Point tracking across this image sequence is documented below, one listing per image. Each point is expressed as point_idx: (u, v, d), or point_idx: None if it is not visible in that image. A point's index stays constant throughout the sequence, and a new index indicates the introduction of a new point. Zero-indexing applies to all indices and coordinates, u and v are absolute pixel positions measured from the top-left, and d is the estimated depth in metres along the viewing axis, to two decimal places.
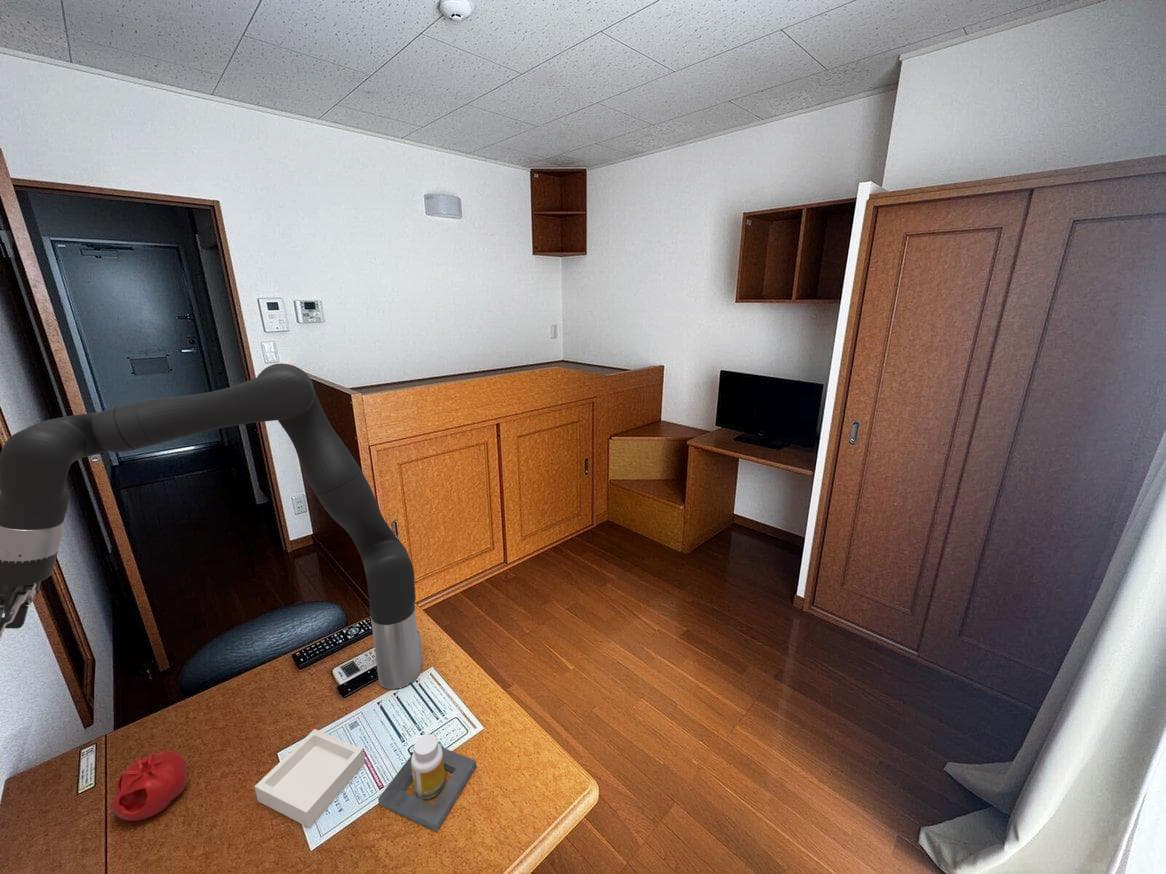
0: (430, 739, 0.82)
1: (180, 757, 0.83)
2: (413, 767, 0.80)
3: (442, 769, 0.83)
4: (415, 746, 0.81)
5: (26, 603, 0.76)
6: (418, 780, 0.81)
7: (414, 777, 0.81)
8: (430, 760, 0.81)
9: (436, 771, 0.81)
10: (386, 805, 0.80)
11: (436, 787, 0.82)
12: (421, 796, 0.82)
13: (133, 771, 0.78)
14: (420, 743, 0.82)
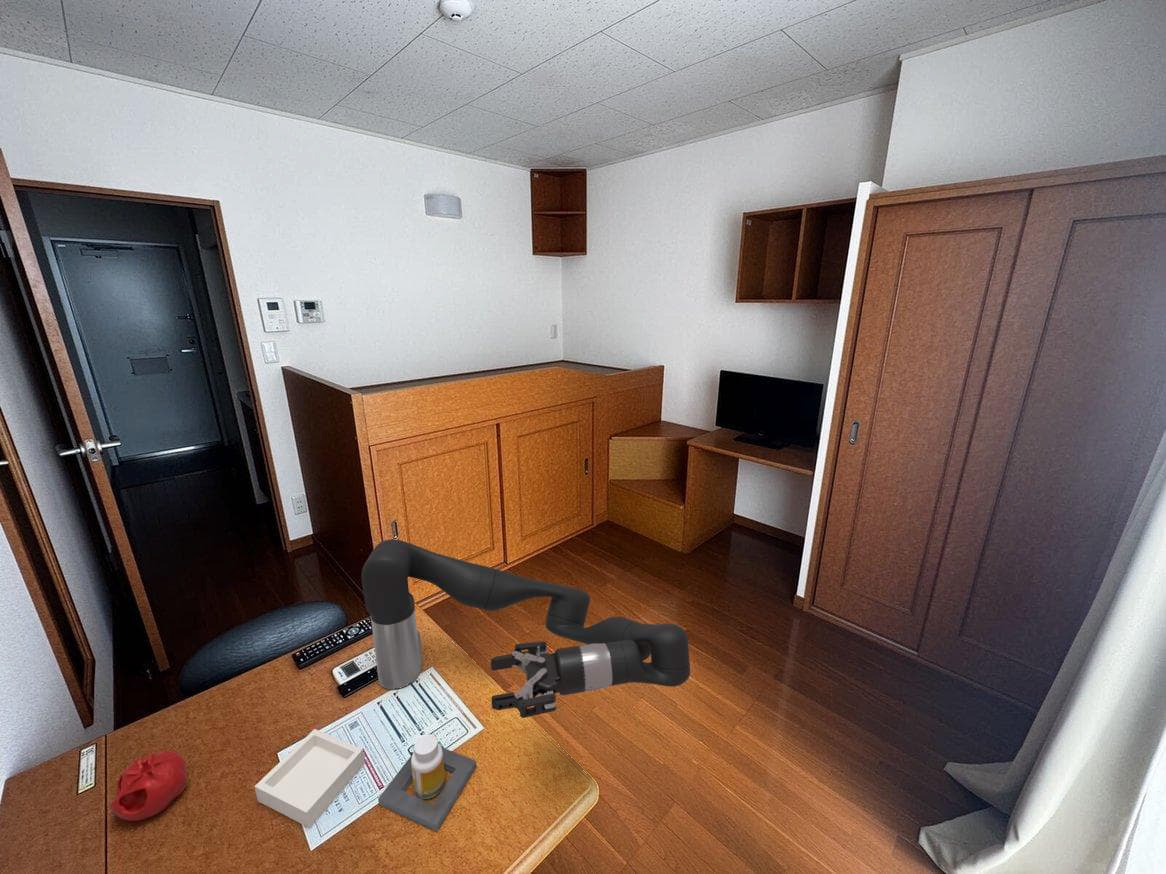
0: (430, 739, 0.82)
1: (180, 757, 0.83)
2: (413, 767, 0.80)
3: (442, 769, 0.83)
4: (415, 746, 0.81)
5: (516, 666, 0.85)
6: (418, 780, 0.81)
7: (414, 777, 0.81)
8: (430, 760, 0.81)
9: (436, 771, 0.81)
10: (386, 805, 0.80)
11: (436, 787, 0.82)
12: (421, 796, 0.82)
13: (133, 771, 0.78)
14: (420, 743, 0.82)
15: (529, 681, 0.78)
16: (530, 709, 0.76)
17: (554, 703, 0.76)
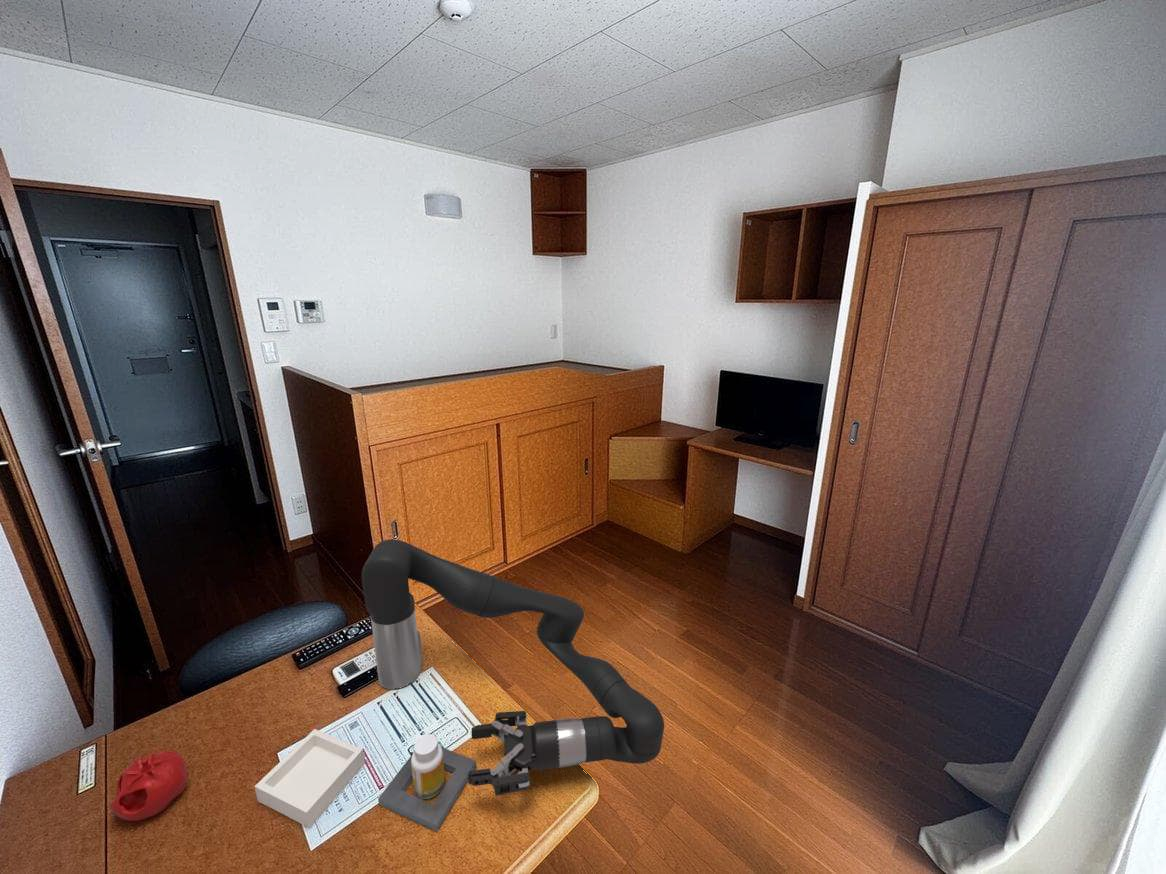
0: (430, 739, 0.82)
1: (180, 757, 0.83)
2: (413, 767, 0.80)
3: (442, 769, 0.83)
4: (415, 746, 0.81)
5: (495, 735, 0.88)
6: (418, 780, 0.81)
7: (414, 777, 0.81)
8: (430, 760, 0.81)
9: (436, 771, 0.81)
10: (386, 805, 0.80)
11: (436, 787, 0.82)
12: (421, 796, 0.82)
13: (133, 771, 0.78)
14: (420, 743, 0.82)
15: (505, 757, 0.82)
16: (504, 786, 0.79)
17: (527, 782, 0.79)
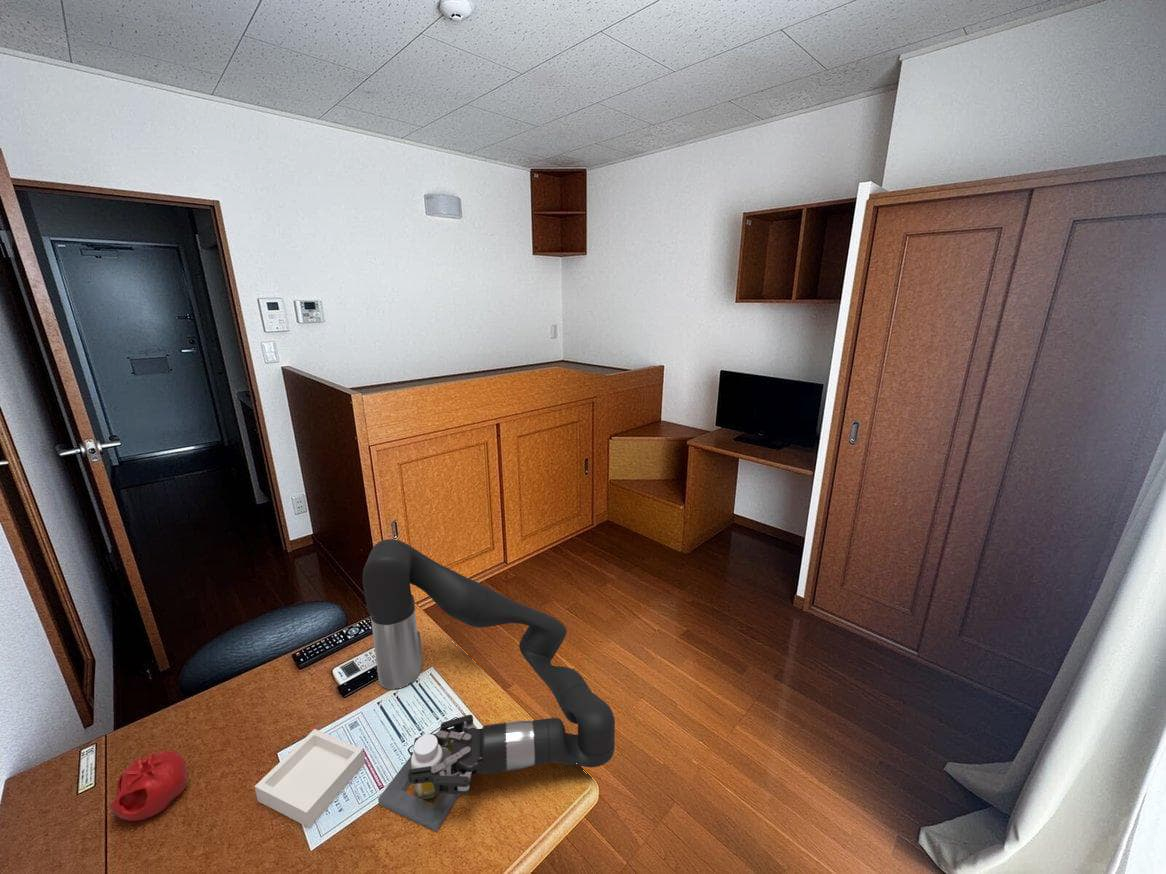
0: (430, 739, 0.82)
1: (180, 757, 0.83)
2: (413, 767, 0.80)
3: None
4: (415, 746, 0.81)
5: None
6: None
7: None
8: (430, 760, 0.81)
9: None
10: (386, 805, 0.80)
11: None
12: (421, 796, 0.82)
13: (133, 771, 0.78)
14: (419, 743, 0.82)
15: (449, 757, 0.81)
16: (445, 786, 0.78)
17: (466, 787, 0.77)
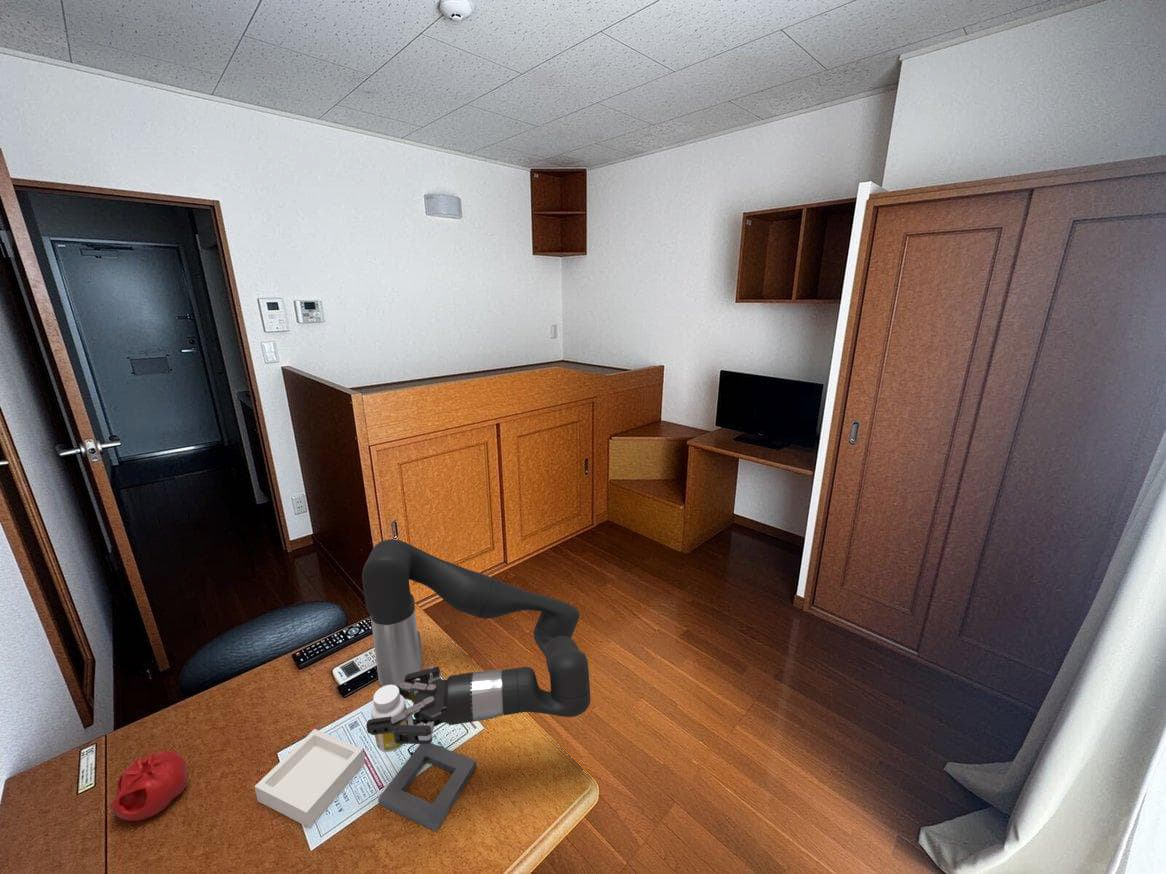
0: (391, 690, 0.77)
1: (180, 757, 0.83)
2: (373, 718, 0.76)
3: None
4: (375, 696, 0.76)
5: None
6: None
7: None
8: (391, 710, 0.76)
9: None
10: (386, 805, 0.80)
11: None
12: (383, 749, 0.77)
13: (133, 771, 0.78)
14: (380, 693, 0.77)
15: (411, 707, 0.76)
16: (406, 736, 0.74)
17: (427, 736, 0.72)
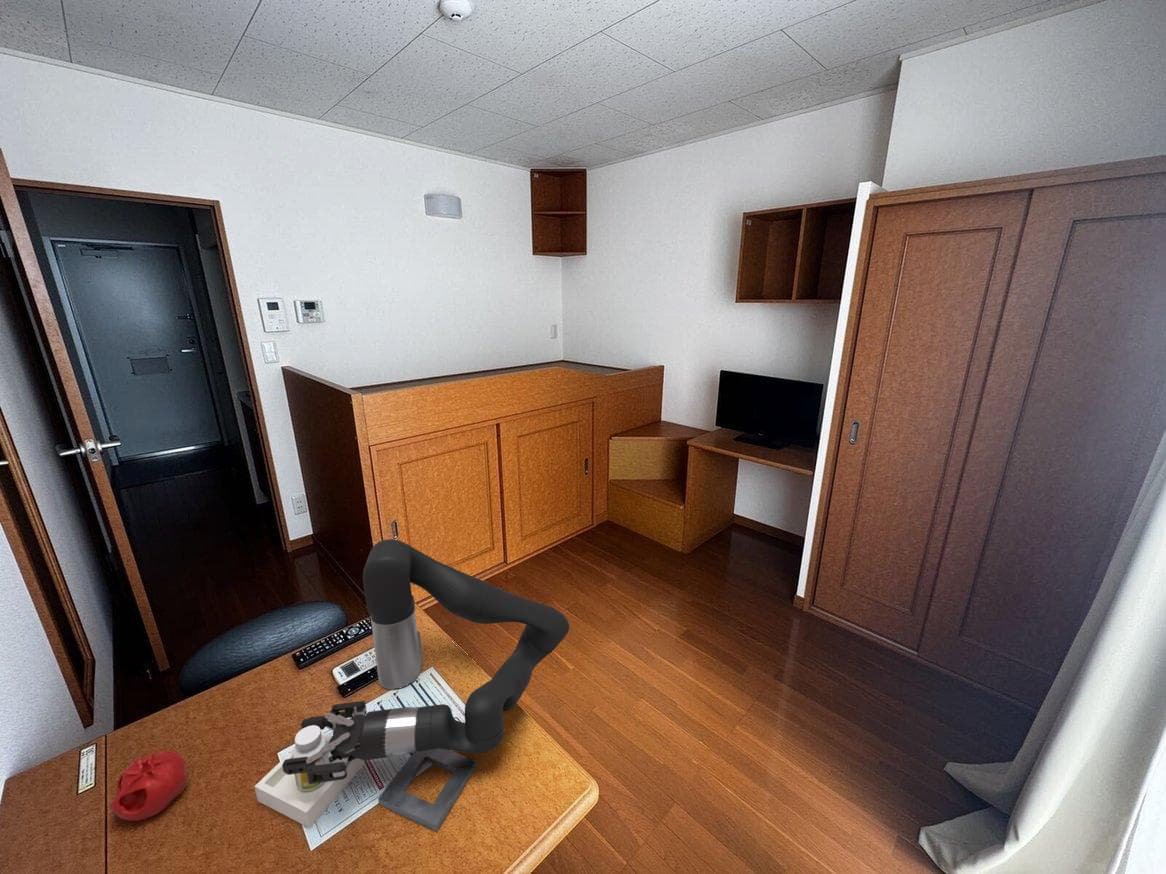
0: (313, 730, 0.82)
1: (180, 757, 0.83)
2: (293, 757, 0.80)
3: None
4: (296, 736, 0.81)
5: (328, 728, 0.86)
6: None
7: None
8: (310, 751, 0.81)
9: None
10: (386, 805, 0.80)
11: None
12: (301, 788, 0.81)
13: (133, 771, 0.78)
14: (302, 733, 0.82)
15: (326, 746, 0.80)
16: (320, 775, 0.77)
17: (342, 772, 0.77)
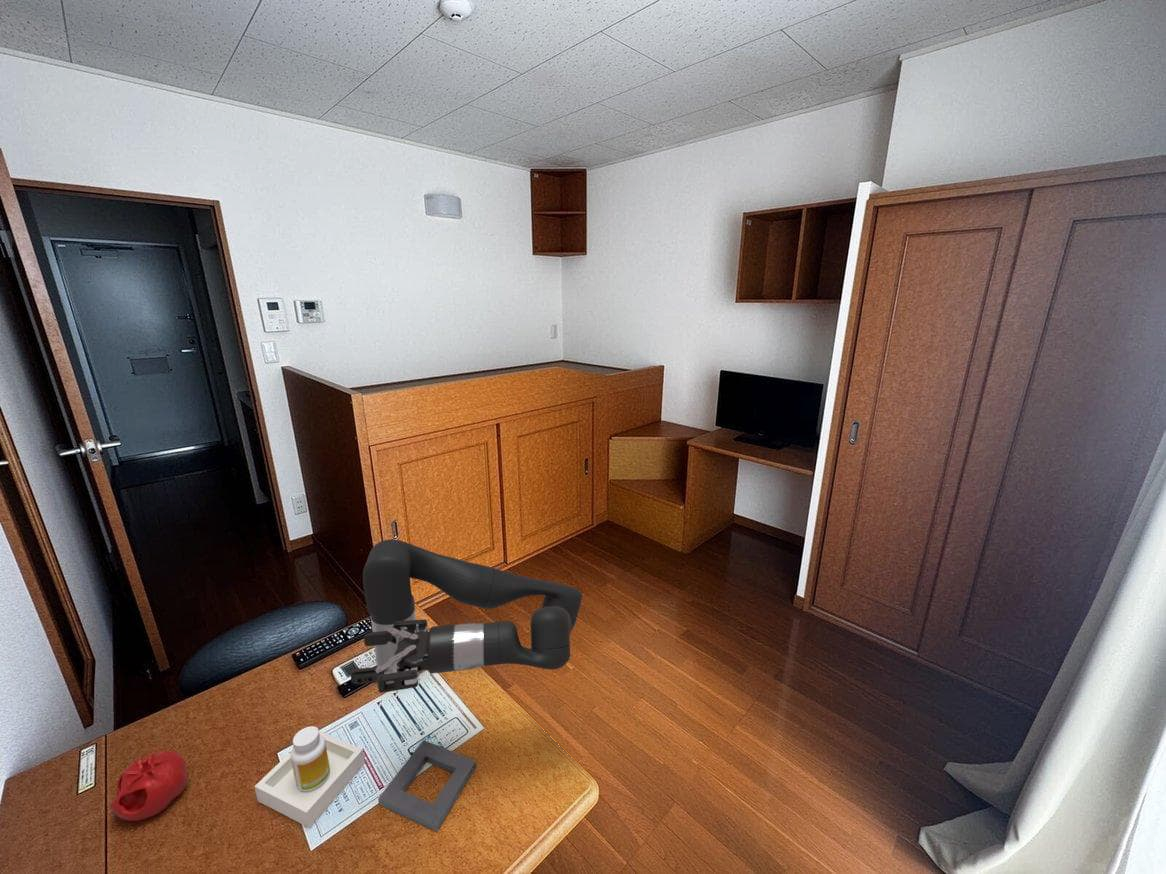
0: (311, 731, 0.82)
1: (180, 757, 0.83)
2: (291, 758, 0.80)
3: (324, 762, 0.83)
4: (294, 737, 0.81)
5: (391, 642, 0.83)
6: (296, 772, 0.80)
7: (293, 769, 0.81)
8: (308, 752, 0.80)
9: (314, 764, 0.81)
10: (386, 805, 0.80)
11: (316, 780, 0.82)
12: (300, 788, 0.81)
13: (133, 771, 0.78)
14: (300, 734, 0.82)
15: (394, 656, 0.76)
16: (390, 684, 0.74)
17: (415, 679, 0.74)
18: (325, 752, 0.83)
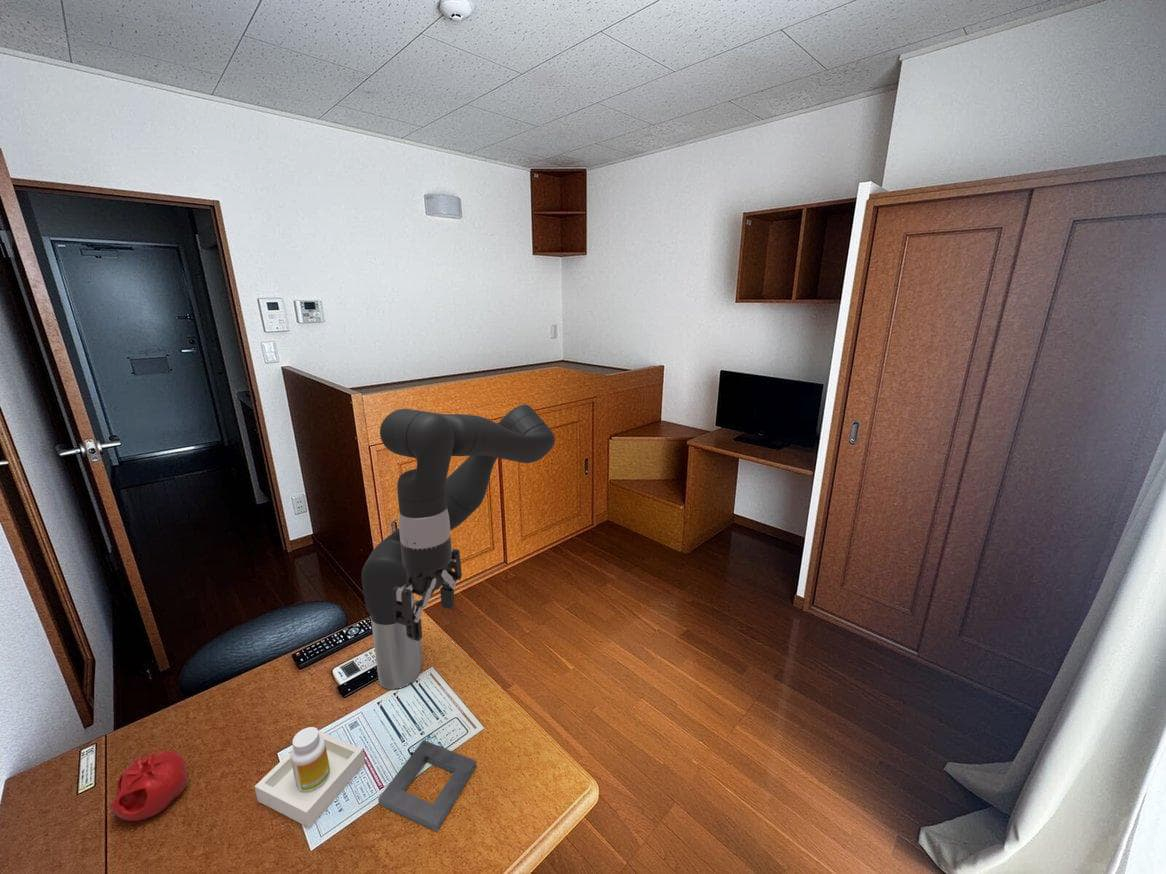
0: (311, 732, 0.82)
1: (180, 757, 0.83)
2: (291, 759, 0.80)
3: (323, 762, 0.82)
4: (294, 738, 0.81)
5: (449, 587, 0.79)
6: (296, 773, 0.80)
7: (293, 769, 0.81)
8: (308, 753, 0.80)
9: (314, 764, 0.81)
10: (386, 805, 0.80)
11: (316, 780, 0.82)
12: (300, 788, 0.81)
13: (133, 771, 0.78)
14: (300, 735, 0.81)
15: None
16: None
17: (397, 591, 0.69)
18: (325, 753, 0.83)
